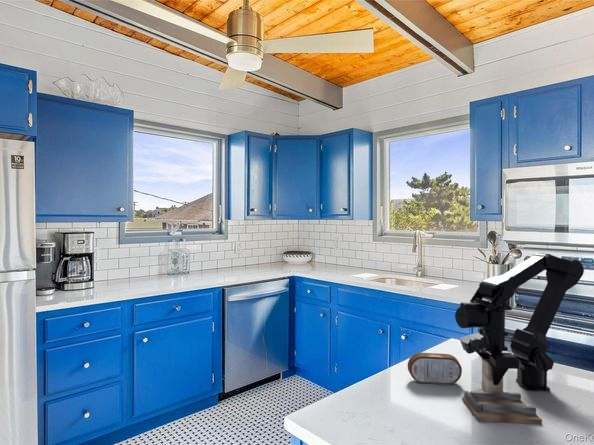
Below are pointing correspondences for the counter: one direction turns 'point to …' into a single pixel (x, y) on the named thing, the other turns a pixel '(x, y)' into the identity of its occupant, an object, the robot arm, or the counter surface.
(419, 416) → the counter surface
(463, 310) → the robot arm
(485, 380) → the block
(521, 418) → the track
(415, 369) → the tin
